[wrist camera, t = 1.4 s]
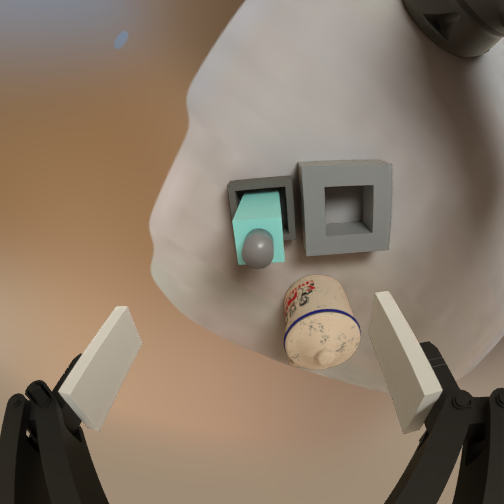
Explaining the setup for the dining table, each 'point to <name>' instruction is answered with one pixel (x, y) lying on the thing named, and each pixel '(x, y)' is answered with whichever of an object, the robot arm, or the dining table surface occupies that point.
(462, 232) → the dining table surface
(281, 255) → the aqua plug
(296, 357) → the teacup with lid
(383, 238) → the port panel
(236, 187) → the frame
